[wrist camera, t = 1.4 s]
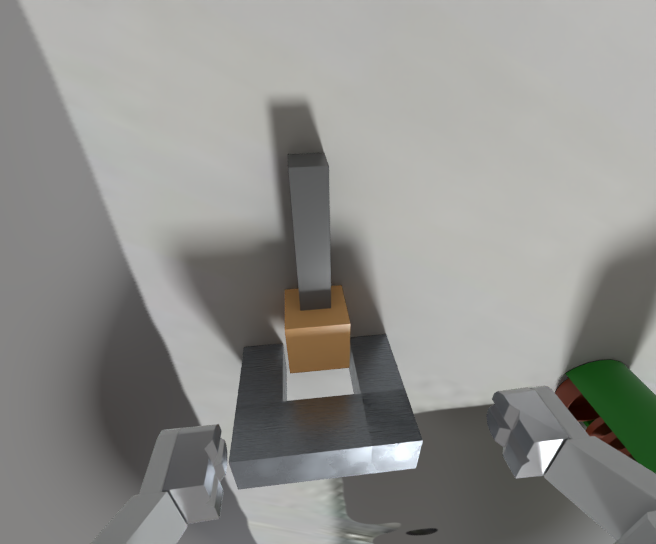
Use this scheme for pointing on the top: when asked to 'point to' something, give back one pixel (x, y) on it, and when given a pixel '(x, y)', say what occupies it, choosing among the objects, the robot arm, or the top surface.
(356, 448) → the grey u-shaped block
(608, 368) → the motor
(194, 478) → the robot arm
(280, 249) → the top surface
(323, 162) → the plug
